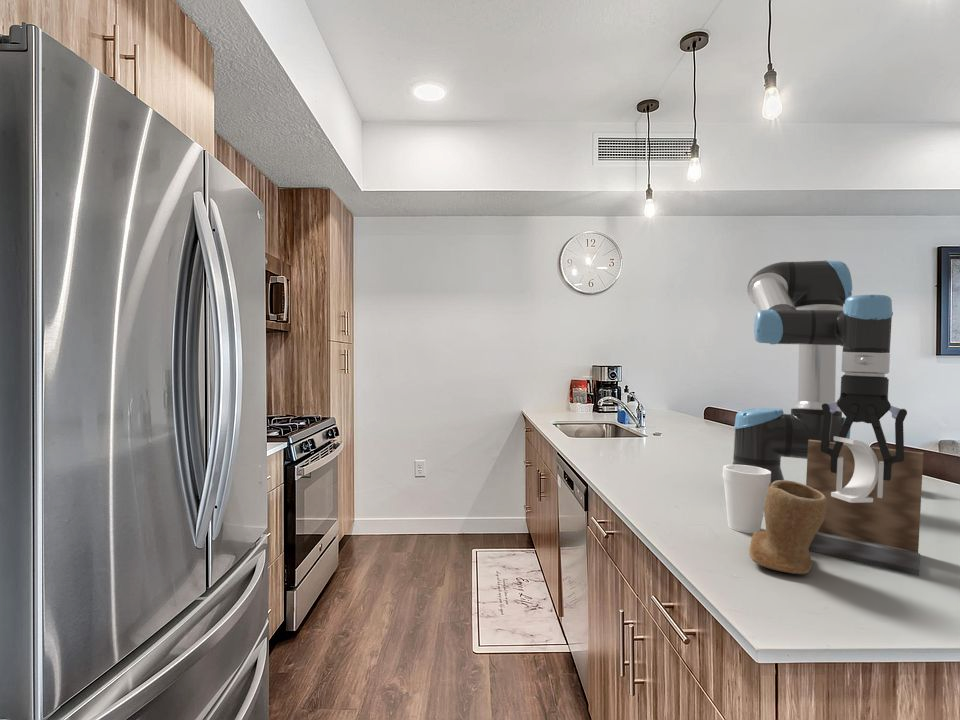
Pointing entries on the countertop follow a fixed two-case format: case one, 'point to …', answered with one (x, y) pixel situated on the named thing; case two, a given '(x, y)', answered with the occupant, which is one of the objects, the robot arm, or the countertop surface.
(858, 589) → the countertop surface
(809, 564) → the tan suede boot
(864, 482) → the white curved saddle bracket
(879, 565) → the board
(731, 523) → the foam cup
